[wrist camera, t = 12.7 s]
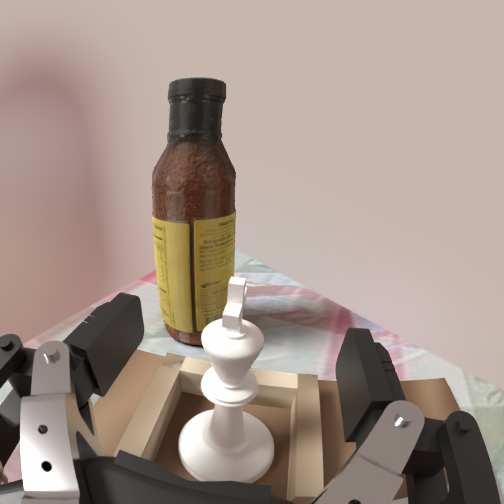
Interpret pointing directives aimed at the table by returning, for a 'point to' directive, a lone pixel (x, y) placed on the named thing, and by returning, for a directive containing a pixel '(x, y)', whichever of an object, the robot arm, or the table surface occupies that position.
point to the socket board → (262, 407)
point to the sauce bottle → (194, 211)
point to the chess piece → (228, 402)
